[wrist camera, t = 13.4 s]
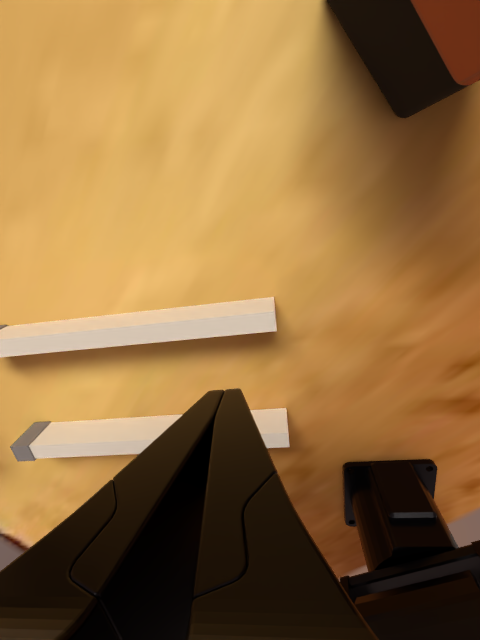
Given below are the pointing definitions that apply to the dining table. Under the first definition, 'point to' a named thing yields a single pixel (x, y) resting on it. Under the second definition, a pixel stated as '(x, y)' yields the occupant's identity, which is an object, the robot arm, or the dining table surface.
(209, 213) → the dining table surface
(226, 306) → the chute
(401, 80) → the battery
